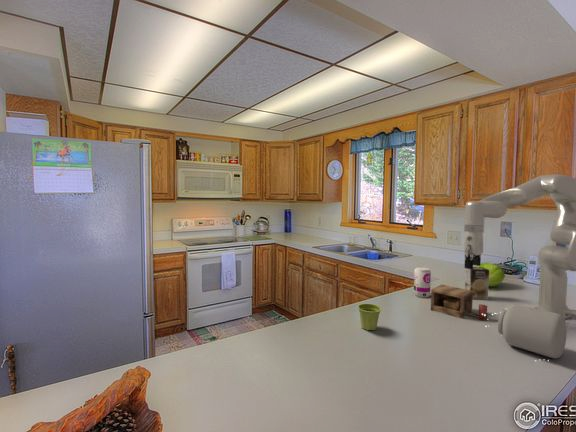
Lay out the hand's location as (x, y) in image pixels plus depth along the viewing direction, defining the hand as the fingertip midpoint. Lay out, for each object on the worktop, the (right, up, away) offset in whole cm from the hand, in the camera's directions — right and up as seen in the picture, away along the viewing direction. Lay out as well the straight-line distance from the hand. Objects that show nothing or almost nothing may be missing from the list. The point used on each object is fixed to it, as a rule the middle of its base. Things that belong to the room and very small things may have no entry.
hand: (472, 266), depth 138 cm
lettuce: (+37, -20, +47) cm, 63 cm away
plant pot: (-49, -24, -11) cm, 56 cm away
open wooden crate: (-6, -22, +7) cm, 24 cm away
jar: (-1, -25, -28) cm, 37 cm away
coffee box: (+18, -21, +26) cm, 38 cm away
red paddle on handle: (-2, -22, +3) cm, 23 cm away
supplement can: (-10, -21, +30) cm, 38 cm away
